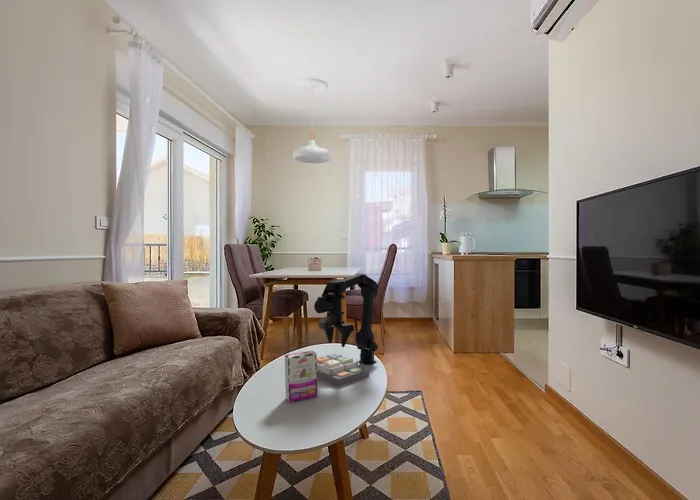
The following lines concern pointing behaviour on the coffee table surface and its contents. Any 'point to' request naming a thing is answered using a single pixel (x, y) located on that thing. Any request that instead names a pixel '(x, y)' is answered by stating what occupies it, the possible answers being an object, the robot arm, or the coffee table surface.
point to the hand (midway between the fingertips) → (336, 344)
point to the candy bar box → (301, 376)
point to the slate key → (334, 356)
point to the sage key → (345, 360)
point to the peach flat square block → (322, 359)
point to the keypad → (341, 373)
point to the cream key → (332, 363)
